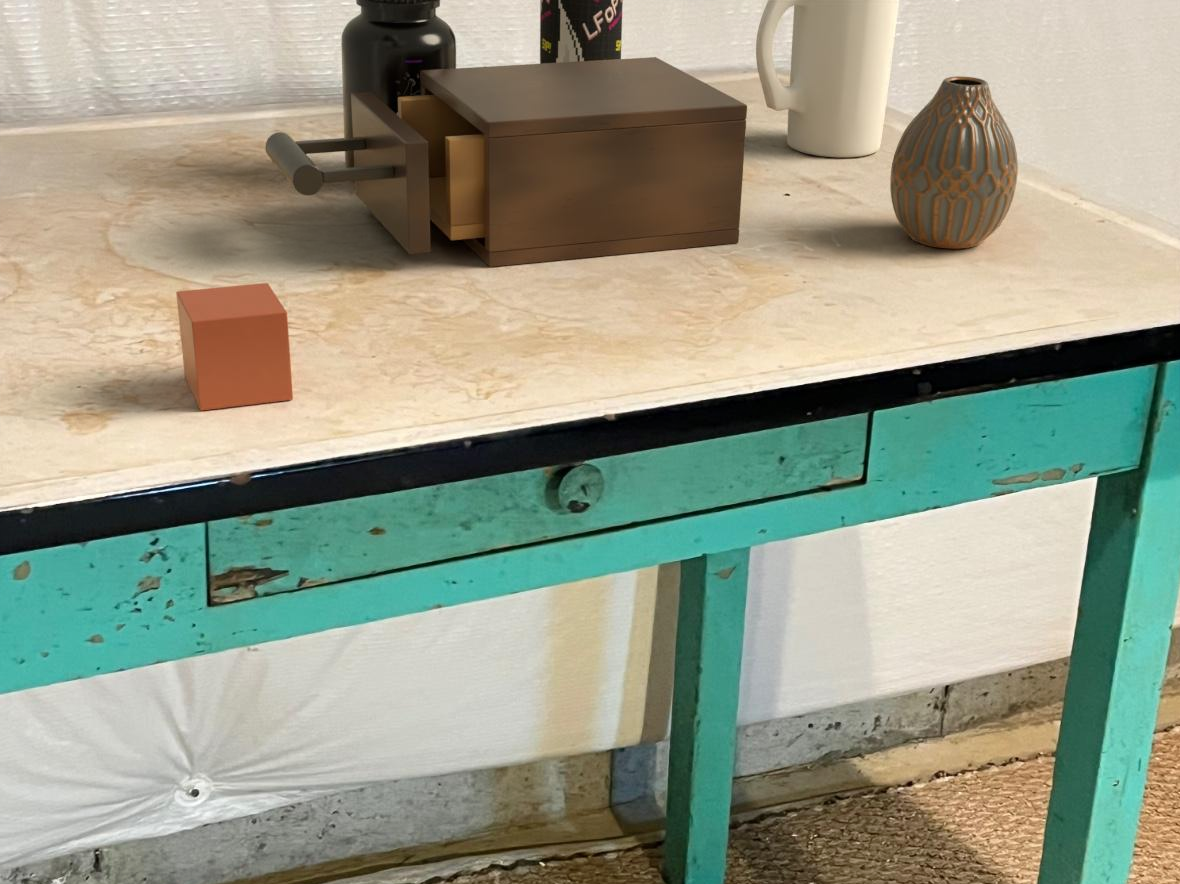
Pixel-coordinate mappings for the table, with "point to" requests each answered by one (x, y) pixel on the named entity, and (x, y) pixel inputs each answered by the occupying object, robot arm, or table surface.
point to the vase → (954, 168)
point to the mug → (831, 73)
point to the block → (235, 346)
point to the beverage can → (580, 30)
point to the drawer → (401, 167)
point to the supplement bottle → (392, 52)
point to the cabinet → (599, 157)
